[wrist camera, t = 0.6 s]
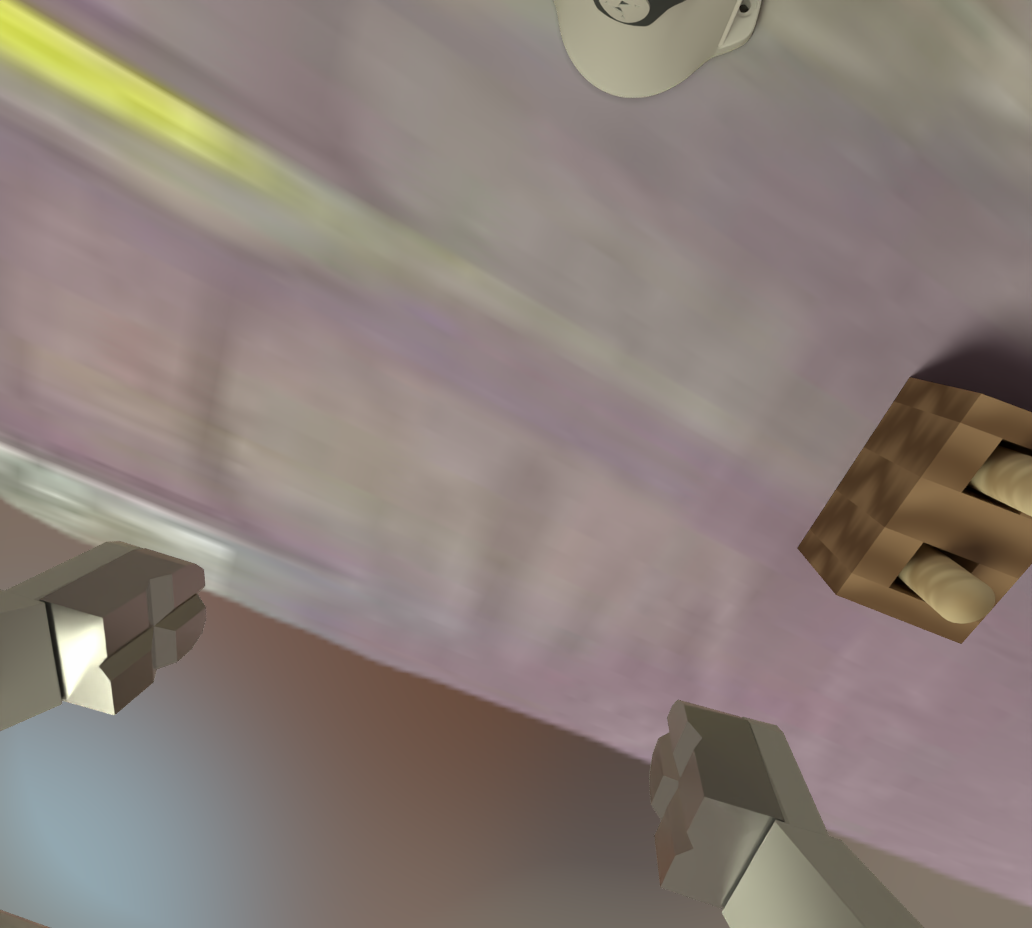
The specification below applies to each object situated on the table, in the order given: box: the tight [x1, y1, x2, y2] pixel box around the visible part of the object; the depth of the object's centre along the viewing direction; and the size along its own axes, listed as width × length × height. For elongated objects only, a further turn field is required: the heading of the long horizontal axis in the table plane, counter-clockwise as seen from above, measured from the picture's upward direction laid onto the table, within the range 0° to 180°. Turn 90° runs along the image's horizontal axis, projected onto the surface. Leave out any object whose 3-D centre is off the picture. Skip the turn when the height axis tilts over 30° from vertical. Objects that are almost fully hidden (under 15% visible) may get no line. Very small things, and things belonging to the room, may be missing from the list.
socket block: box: [798, 377, 1032, 644], centre depth 44 cm, size 20×12×9 cm, turn 160°
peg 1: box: [898, 542, 995, 624], centre depth 42 cm, size 4×4×8 cm
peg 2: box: [967, 445, 1032, 517], centre depth 39 cm, size 4×4×8 cm
